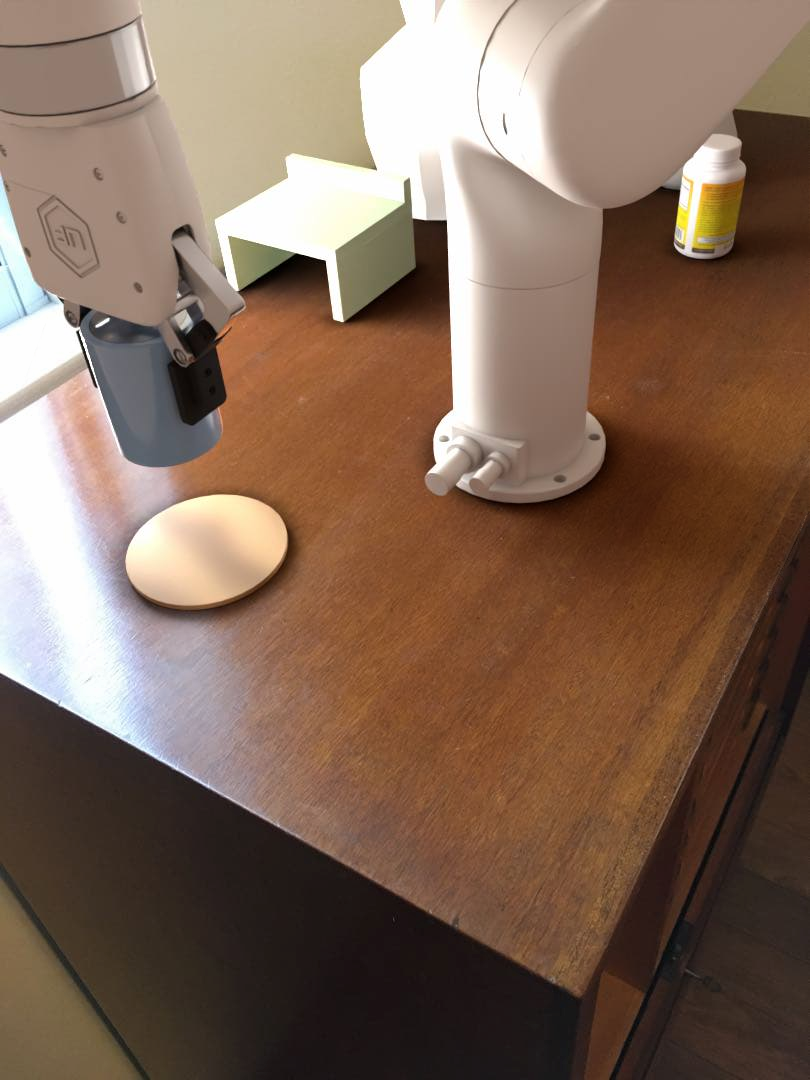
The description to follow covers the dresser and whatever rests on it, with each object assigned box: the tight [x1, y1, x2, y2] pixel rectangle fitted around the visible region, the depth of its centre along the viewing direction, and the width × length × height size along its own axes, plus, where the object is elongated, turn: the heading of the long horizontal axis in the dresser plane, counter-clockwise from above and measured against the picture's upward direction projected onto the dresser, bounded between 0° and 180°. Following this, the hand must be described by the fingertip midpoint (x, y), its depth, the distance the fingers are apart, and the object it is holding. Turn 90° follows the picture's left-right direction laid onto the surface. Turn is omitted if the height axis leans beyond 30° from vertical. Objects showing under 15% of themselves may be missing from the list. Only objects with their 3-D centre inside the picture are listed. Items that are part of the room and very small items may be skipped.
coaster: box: [124, 494, 289, 611], centre depth 63 cm, size 11×11×1 cm
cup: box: [79, 292, 224, 469], centre depth 54 cm, size 6×6×8 cm
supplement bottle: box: [673, 134, 747, 260], centre depth 88 cm, size 6×6×10 cm
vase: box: [359, 0, 447, 221], centre depth 94 cm, size 14×14×25 cm
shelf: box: [214, 153, 417, 323], centre depth 89 cm, size 12×14×9 cm
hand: (160, 393), depth 55 cm, fingers closed on cup, 6 cm apart
